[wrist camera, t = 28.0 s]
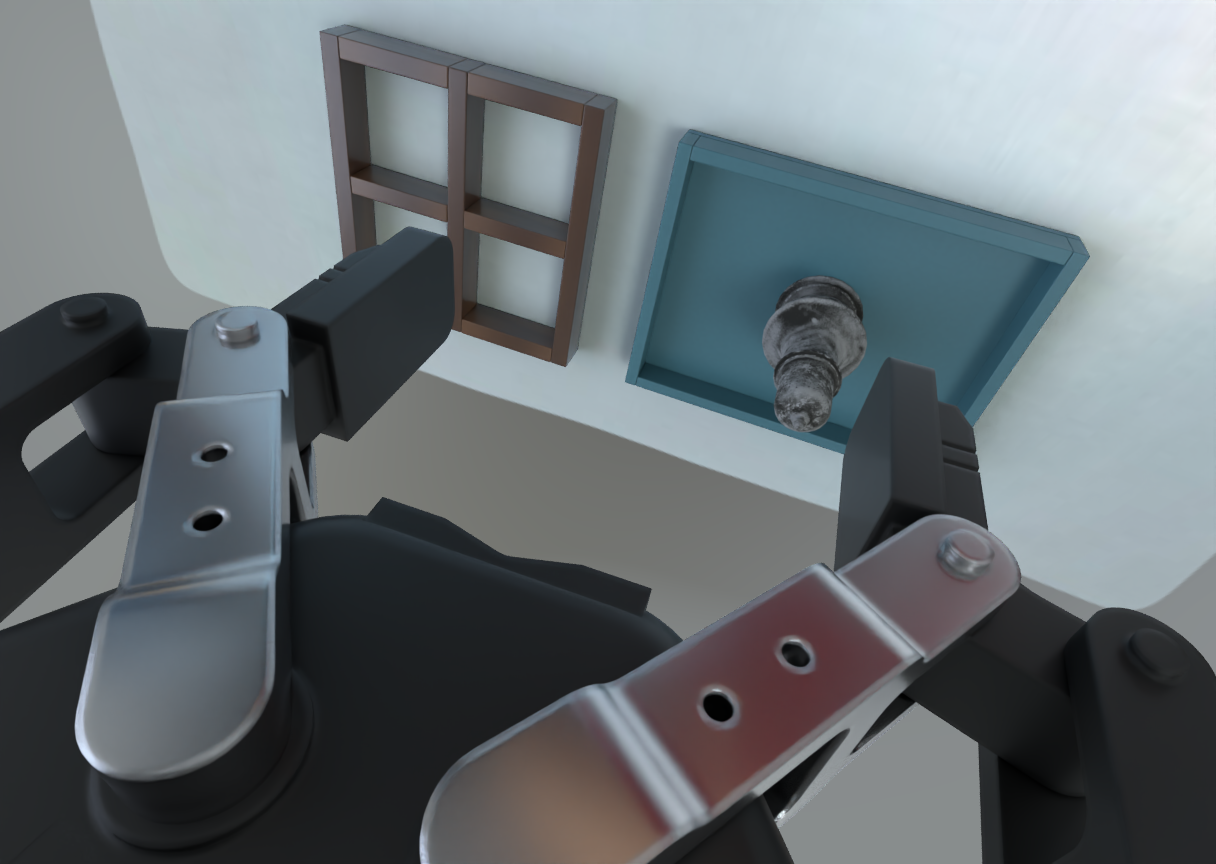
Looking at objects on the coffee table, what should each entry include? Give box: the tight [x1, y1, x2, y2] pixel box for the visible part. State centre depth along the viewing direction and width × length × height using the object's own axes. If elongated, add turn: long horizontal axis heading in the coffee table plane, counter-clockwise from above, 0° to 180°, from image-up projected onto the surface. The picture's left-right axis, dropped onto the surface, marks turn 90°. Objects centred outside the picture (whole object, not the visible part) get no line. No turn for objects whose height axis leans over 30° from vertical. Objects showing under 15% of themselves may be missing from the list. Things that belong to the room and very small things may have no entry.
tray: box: [625, 130, 1090, 454], centre depth 42 cm, size 22×17×3 cm
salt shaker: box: [762, 275, 867, 432], centre depth 38 cm, size 6×6×12 cm
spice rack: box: [320, 25, 617, 367], centre depth 45 cm, size 18×18×2 cm
